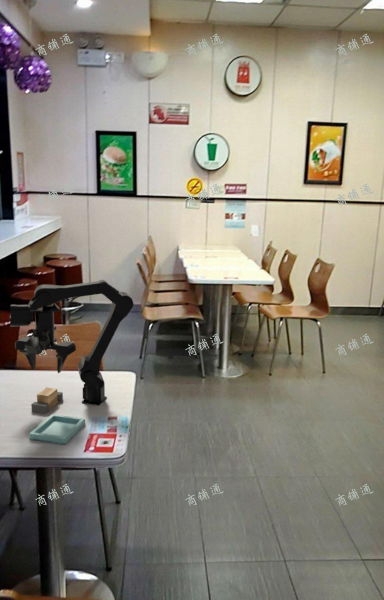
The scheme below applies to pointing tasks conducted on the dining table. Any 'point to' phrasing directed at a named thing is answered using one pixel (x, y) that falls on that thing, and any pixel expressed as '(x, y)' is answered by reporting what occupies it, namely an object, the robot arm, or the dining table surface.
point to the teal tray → (57, 429)
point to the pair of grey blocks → (44, 405)
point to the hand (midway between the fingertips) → (46, 371)
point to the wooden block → (48, 396)
